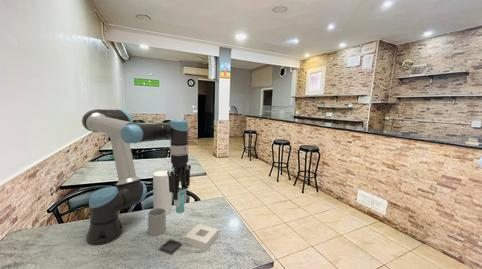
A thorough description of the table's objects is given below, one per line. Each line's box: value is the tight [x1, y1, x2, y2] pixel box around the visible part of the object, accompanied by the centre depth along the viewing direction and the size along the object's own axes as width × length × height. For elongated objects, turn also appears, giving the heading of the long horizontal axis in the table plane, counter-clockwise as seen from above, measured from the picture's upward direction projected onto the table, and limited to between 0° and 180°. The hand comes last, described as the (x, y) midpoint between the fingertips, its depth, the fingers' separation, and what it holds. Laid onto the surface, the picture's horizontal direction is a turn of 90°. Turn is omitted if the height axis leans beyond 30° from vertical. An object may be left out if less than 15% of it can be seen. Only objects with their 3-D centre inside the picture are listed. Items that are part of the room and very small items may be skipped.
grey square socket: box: [157, 238, 184, 256], centre depth 94 cm, size 8×8×2 cm
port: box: [184, 223, 220, 251], centre depth 100 cm, size 12×12×4 cm
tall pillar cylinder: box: [152, 170, 173, 216], centre depth 126 cm, size 11×11×25 cm
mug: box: [147, 208, 167, 236], centre depth 107 cm, size 12×8×11 cm
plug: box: [175, 188, 185, 214], centre depth 93 cm, size 4×4×10 cm
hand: (180, 203), depth 93 cm, fingers closed on plug, 4 cm apart
